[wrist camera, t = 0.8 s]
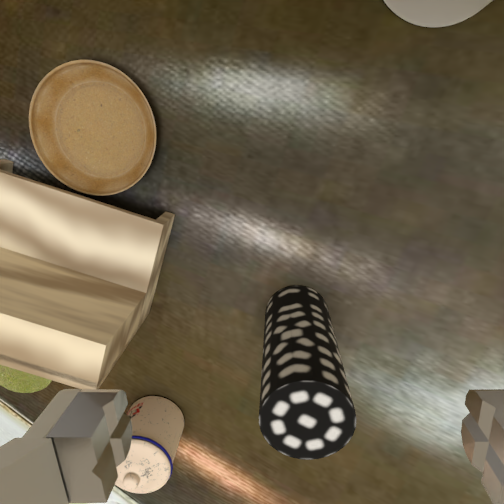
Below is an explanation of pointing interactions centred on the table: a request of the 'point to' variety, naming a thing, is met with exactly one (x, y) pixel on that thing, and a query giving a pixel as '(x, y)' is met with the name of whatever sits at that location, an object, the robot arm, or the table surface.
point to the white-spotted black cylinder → (303, 378)
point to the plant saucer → (92, 127)
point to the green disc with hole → (21, 380)
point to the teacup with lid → (151, 445)
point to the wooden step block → (72, 279)
